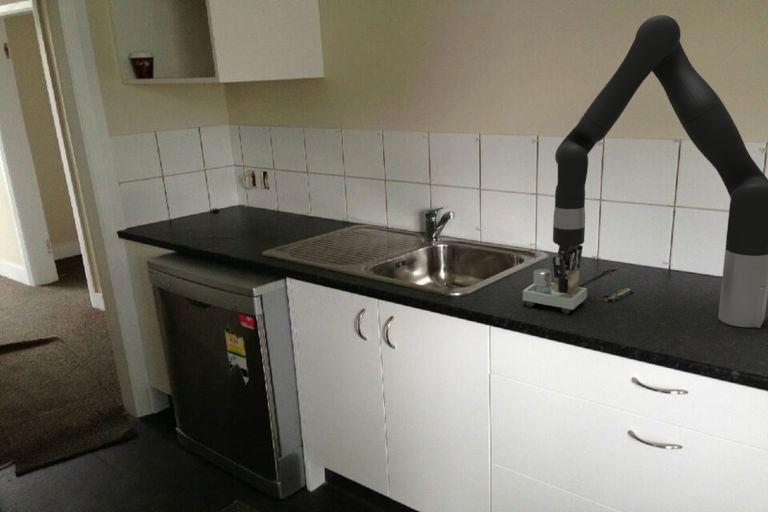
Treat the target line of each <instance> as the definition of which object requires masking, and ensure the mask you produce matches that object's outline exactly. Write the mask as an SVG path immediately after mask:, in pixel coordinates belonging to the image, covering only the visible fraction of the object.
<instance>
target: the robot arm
mask: <svg viewBox="0 0 768 512" xmlns="http://www.w3.org/2000/svg"><path fill="white" fill-rule="evenodd" d="M634 37H635V38H634V40H633V41H632V44H631V46H630V48H629V49H628V51H627V53H626V55H625V57H624V58H623V60H622V61H621V63H620V65H619V67H618V68H617V69H616V71H615V73H614V74H613V75H612V77H611V78H610V79H609V81H608V82H607V83H606V84H605V85H604V87H603V88H602V89H601V90H600V92H599V93H598V94H597V95H596V97H595V98H594V100H593V101H592V103H591V104H590V105H589V107H588V108H587V109H586V111H585V112H584V114H583V115H582V116H581V118H580V120H579V121H578V123H577V125H575V126H574V127H573V129H572V130H571V131H570V132H569V133H568V134H567V135H566V137H565V138H564V139H562V142H561V143H560V144H559V145H558V146H557V149H556V151H555V155H554V156H555V159H554V160H555V162H556V165H557V184H556V187H555V192H554V193H555V194H554V212H553V220H552V223H553V224H552V242H553V243H554V244H555V245H558V251H557V256H553V257H552V264H553V276H554V279H555V278H559V282H558V291H559V292H560V293H567V292H568V276H569V271H570V270H577V271H578V269H580V267H581V261H582V255H583V245H582V244H584V242H585V234H586V233H585V232H586V208H585V206H586V182H587V178H588V177H587V176H588V168H589V153H590V152H591V151H592V150H593V148H594V146H595V145H596V144H597V143H599V142H600V141H602V140H604V138H605V137H606V136H607V135H608V133H609V132H610V131H611V130H612V128H613V126H615V124H616V122H617V121H618V120H619V118H620V117H621V115H622V114H623V112H624V110H625V109H626V108H627V106H628V105H629V103H630V102H631V100H632V98H633V97H634V95H635V94H636V92H637V91H638V90H639V88H640V87H641V85H642V84H643V82H644V81H645V80H646V79H647V77H648V76H649V75H650V74H651V73H653V75H654V76H655V77H656V78H657V80H658V82H659V83H660V84H661V87H662V88H663V90H664V92H665V94H666V97H667V99H668V100H669V103H670V105H671V107H672V109H673V112H674V113H675V115H676V117H677V119H678V122H679V123H680V125H681V126H682V128H683V130H684V131H685V132H686V134H687V136H688V137H689V139H690V140H691V142H692V143H693V145H694V146H695V148H697V150H698V151H699V152H700V153H701V154H702V155H703V156H704V158H705V159H706V160H707V161H709V163H710V164H711V165H712V167H713V168H714V169H715V170H716V172H717V173H718V175H719V176H720V179H721V182H723V184H724V187H725V188H726V190H727V193H728V196H729V198H730V202H729V208H728V218H727V219H728V220H727V229H726V235H725V236H726V237H725V239H726V240H725V249H724V250H725V251H724V259H723V269H722V276H721V277H722V278H721V285H720V286H721V288H720V294H719V295H720V296H719V306H718V317H717V318H718V320H719V321H721V322H722V323H724V324H727V325H730V326H734V327H740V328H758V329H761V327H762V326H763V323H764V321H765V318H766V317H765V316H766V309H767V301H768V177H767V176H766V175H765V174H764V172H763V171H762V170H761V169H760V167H759V166H758V164H757V163H756V162H755V161H754V160H753V158H752V156H751V154H750V153H749V151H748V149H747V147H746V144H745V142H744V140H743V137H742V135H741V134H740V131H739V129H738V127H737V126H736V124H735V121H734V120H733V118H732V116H731V114H730V112H729V111H728V109H727V107H726V106H725V104H724V102H723V101H722V99H721V98H720V97H719V95H718V94H717V93H716V91H715V90H714V89H713V88H712V86H710V84H709V83H708V82H707V81H706V79H704V78H703V77H702V76H701V74H699V72H698V71H697V70H696V69H695V67H693V65H692V64H691V62H690V60H689V58H688V56H687V54H686V52H685V50H684V48H683V46H682V42H681V41H680V40H681V28H680V25H679V23H678V22H677V21H676V19H674V18H673V17H671V16H669V15H665V14H663V15H662V14H659V15H655V16H651V17H649V18H648V19H646V20H645V21H644V22H642V24H640V26H639V27H638V29H637V31H636V34H635V36H634ZM565 270H566V272H565ZM561 272H562V274H561Z"/></svg>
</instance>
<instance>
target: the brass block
mask: <svg viewBox="0 0 768 512" xmlns="http://www.w3.org/2000/svg"><path fill="white" fill-rule="evenodd" d="M565 272H566V270H565ZM561 274H562V272H561ZM579 280H580V270H578V269H577V270H570V271H569V276H568V292H567V293H564V294H570V295H572V294H573V293H575V292H576V291H577V290H578V287H579V283H580V281H579ZM558 282H559V278H555V277H554V283H555V292H559V291H558ZM559 293H560V292H559Z"/></svg>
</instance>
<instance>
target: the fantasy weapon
mask: <svg viewBox="0 0 768 512" xmlns="http://www.w3.org/2000/svg"><path fill="white" fill-rule="evenodd" d="M617 268H618V267H617V266H616V267H612V268H610V269H607V270H602V271H601V272H600V274H598V275H596V276H594V277H592V278H590V279H588V280H586V281H585V282H583V283H581V284H579V287H583V286H585V285H587V284H589V283H590V282H593V281H594V280H596V279H598V278H600V277H602V276H604V275H607V274H609V275H610V274H612V273H613V272H612V271H614V270H616V269H617ZM633 293H634V290H632V289H630V288H628V287H627V288H626V287H625V288H621V289H620V290H618V291H616V292H614V293H613V294H611V295H602V296H590V295H589V294H588V295H587V298H586V299H588V300H589V301H590V302H601V303H603V302H604V303H609V302H611V303H613V302H616V303H617V302H620V300H622V299H624V298H625V297H627V296H629V295H630V294H633Z"/></svg>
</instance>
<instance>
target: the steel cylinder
mask: <svg viewBox="0 0 768 512" xmlns="http://www.w3.org/2000/svg"><path fill="white" fill-rule="evenodd" d="M532 273H533V283H534V292H538V293H543V294H549V295H551V294H552V288H551V283H552V270H551V269H549V268H537V269H535V270H533V272H532Z"/></svg>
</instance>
